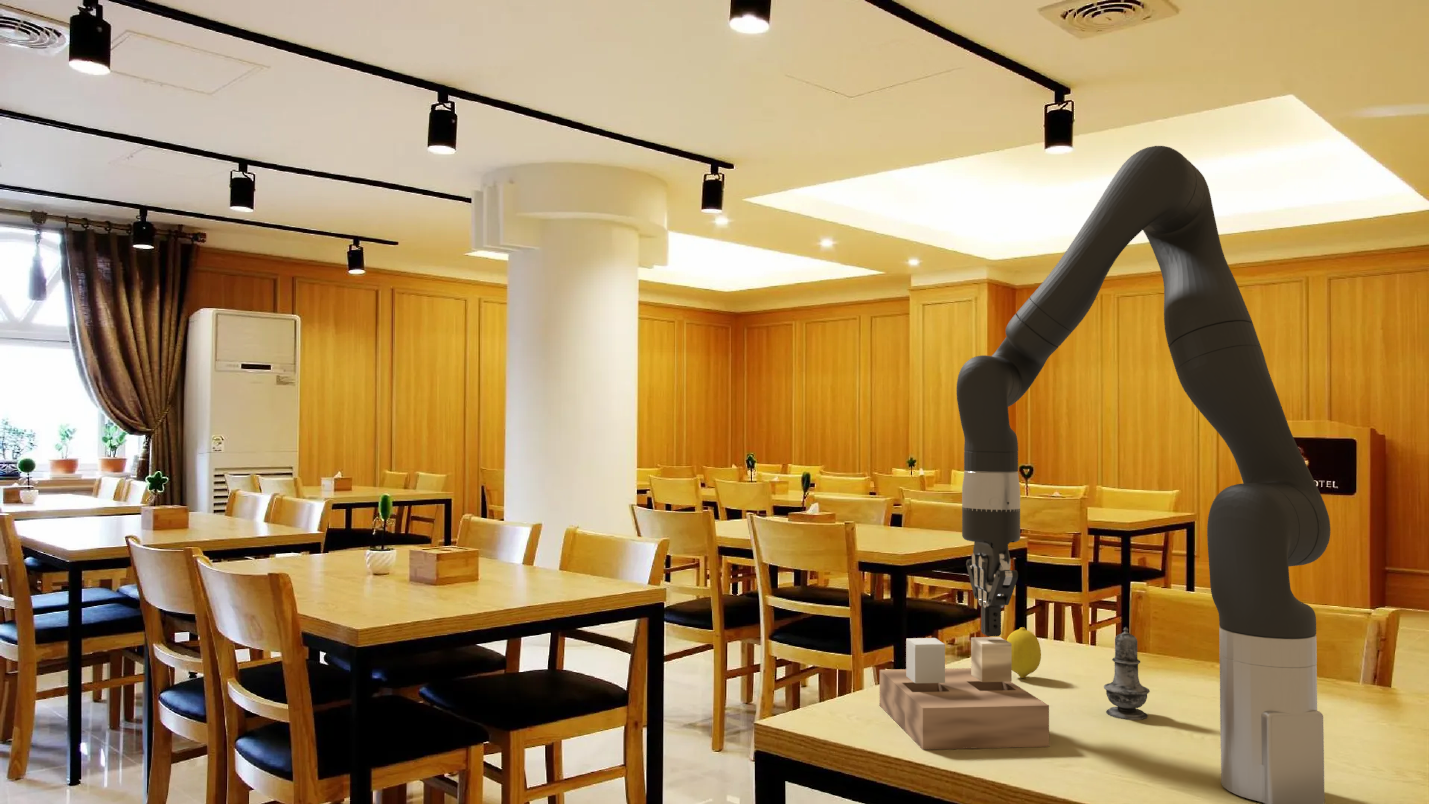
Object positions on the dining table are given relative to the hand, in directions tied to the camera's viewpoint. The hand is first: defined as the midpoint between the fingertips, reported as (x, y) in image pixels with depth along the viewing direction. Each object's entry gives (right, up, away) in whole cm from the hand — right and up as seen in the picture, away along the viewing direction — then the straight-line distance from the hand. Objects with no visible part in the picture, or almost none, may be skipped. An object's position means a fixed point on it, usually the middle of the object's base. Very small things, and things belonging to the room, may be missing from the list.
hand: (991, 635), depth 132 cm
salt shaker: (+20, -12, +4) cm, 24 cm away
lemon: (+12, -13, +25) cm, 30 cm away
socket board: (-5, -12, -1) cm, 13 cm away
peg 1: (-9, -6, -1) cm, 11 cm away
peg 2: (0, -6, 0) cm, 6 cm away
